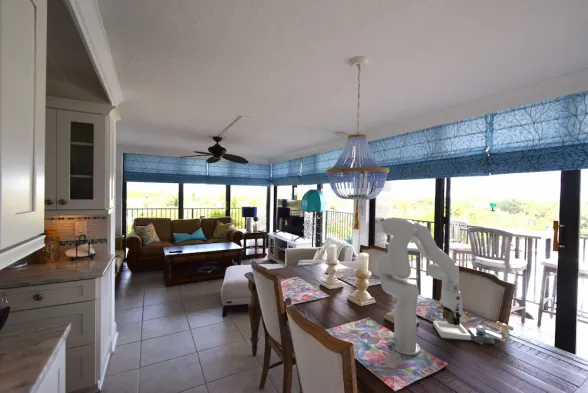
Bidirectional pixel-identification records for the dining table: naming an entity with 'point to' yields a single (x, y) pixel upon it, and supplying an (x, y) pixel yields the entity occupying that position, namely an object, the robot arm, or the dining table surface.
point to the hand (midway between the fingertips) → (451, 321)
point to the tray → (451, 331)
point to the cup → (449, 315)
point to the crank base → (480, 337)
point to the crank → (500, 337)
